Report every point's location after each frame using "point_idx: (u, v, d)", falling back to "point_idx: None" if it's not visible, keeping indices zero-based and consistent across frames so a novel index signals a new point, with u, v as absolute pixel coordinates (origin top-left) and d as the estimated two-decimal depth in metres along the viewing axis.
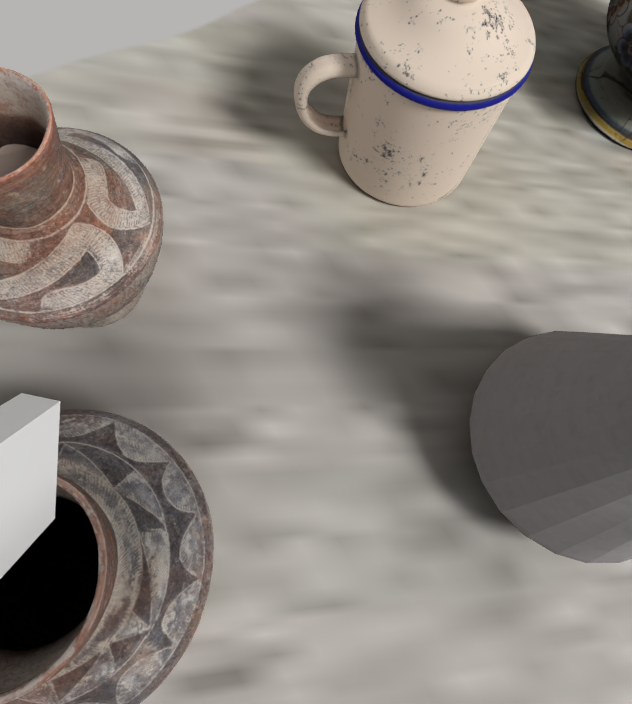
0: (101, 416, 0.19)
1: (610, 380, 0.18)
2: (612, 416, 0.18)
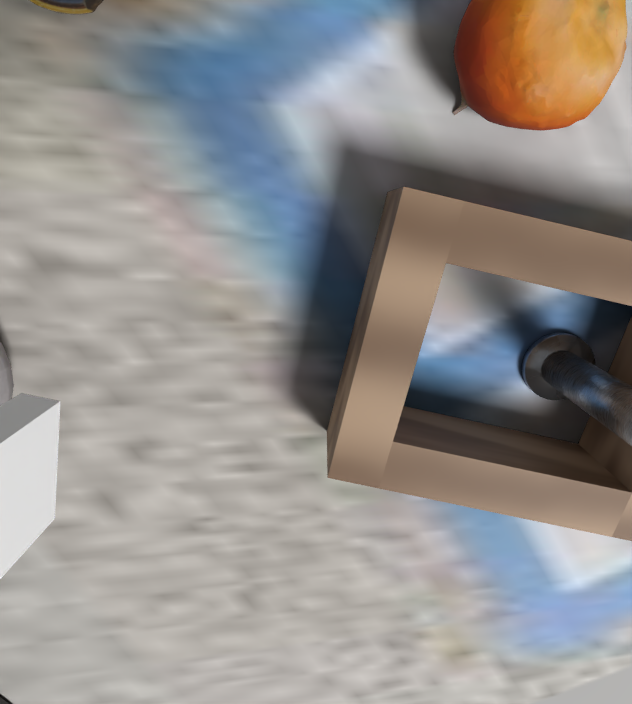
0: None
1: None
2: None
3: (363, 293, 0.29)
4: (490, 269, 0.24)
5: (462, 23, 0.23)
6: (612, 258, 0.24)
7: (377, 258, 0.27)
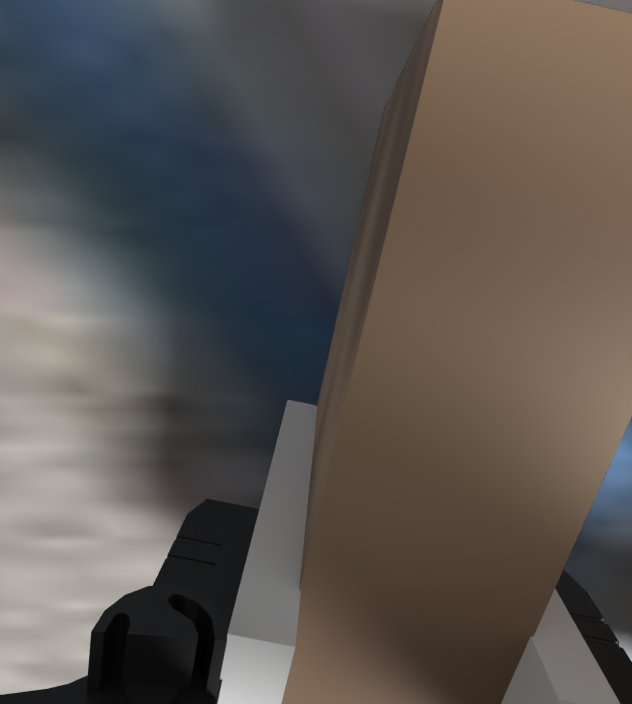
0: None
1: None
2: None
3: (320, 396, 0.11)
4: None
5: None
6: None
7: (346, 318, 0.08)
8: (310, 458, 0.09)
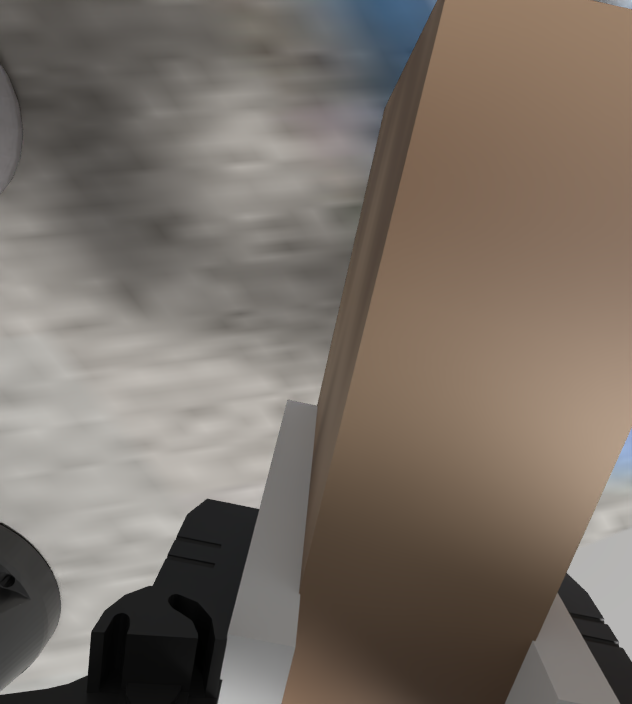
0: None
1: None
2: None
3: (320, 397, 0.11)
4: None
5: None
6: None
7: (346, 319, 0.08)
8: (310, 458, 0.09)
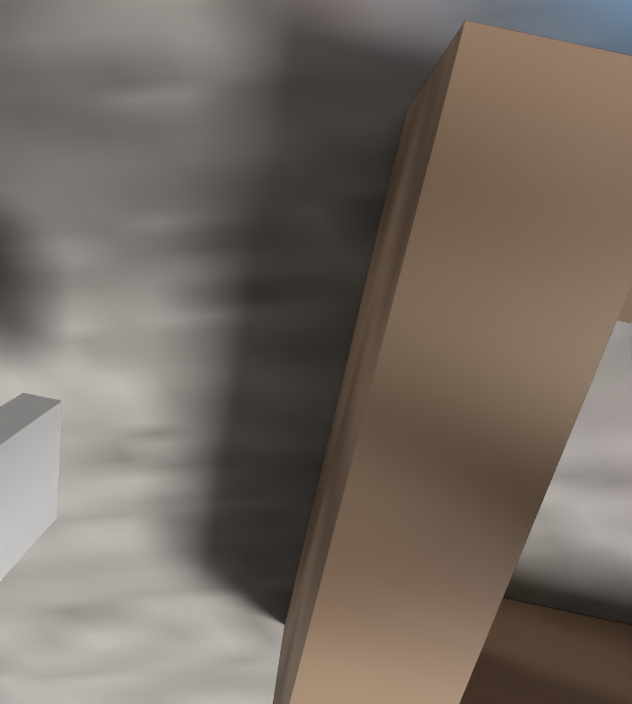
0: None
1: None
2: None
3: (348, 362, 0.12)
4: None
5: None
6: None
7: (376, 288, 0.09)
8: None
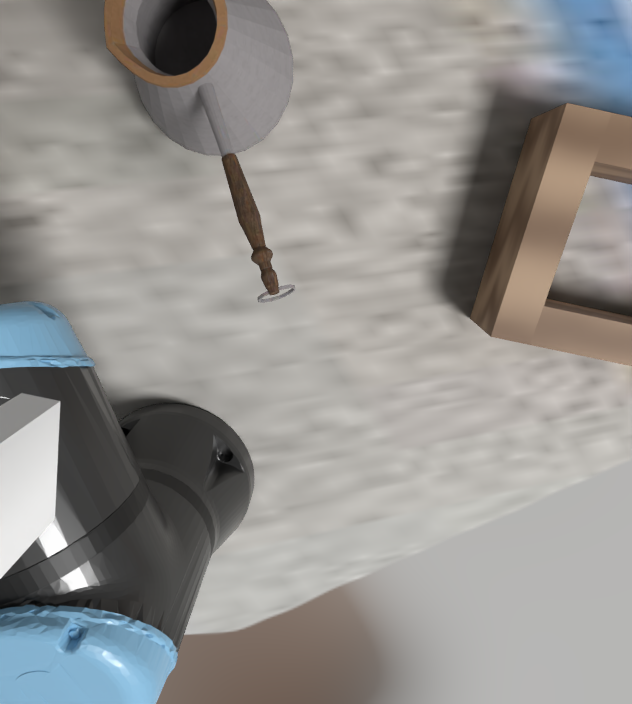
0: None
1: None
2: None
3: (509, 200, 0.38)
4: (628, 165, 0.32)
5: None
6: None
7: (531, 166, 0.35)
8: None
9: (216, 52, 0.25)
